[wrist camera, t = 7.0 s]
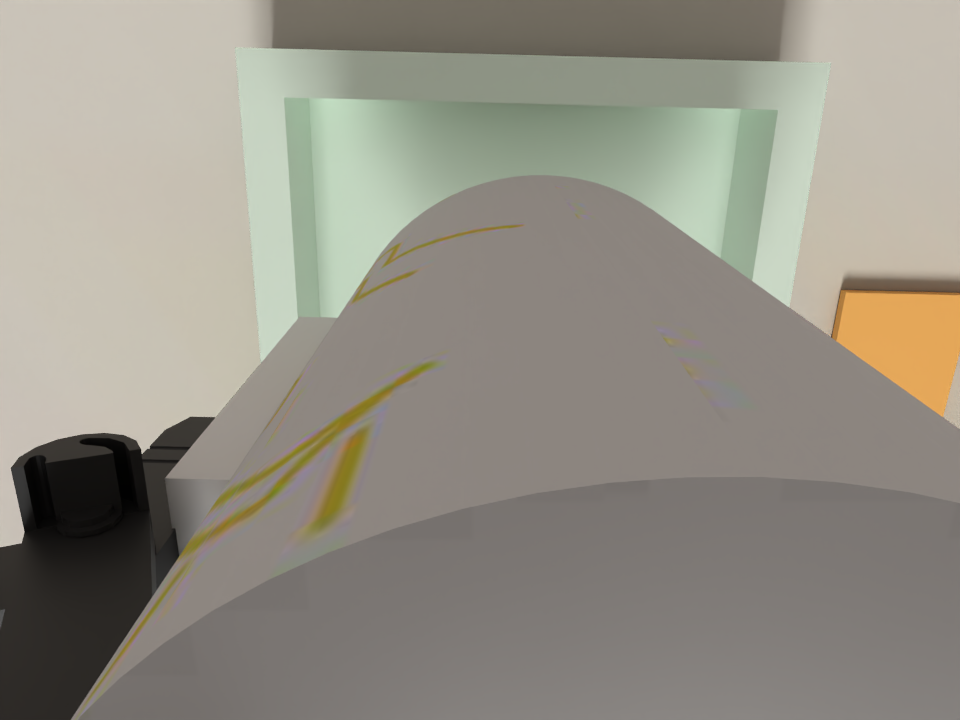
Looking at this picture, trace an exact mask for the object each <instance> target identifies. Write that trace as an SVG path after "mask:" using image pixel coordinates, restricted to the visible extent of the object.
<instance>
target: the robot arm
mask: <svg viewBox="0 0 960 720" xmlns="http://www.w3.org/2000/svg"><path fill="white" fill-rule="evenodd" d="M336 320H337V318H334V317H299V318H298V319H297V320H296V322H295V323H294V324H293V325H292V326H291V328H290V329H289V330H288V331H287V332H286V334H285V335H284V336H283V337H282V338H281V340H280V341H279V342H278V343H277V344H276V346H275V347H274V348H273V349H272V350H271V352H270V353H269V354H268V355H267V356H266V358H265V359H264V360H263V361H262V362H261V364H260V365H259V366H258V367H257V368H256V370H255V371H254V372H253V373H252V374H251V376H250V377H249V378H248V379H247V380H246V382H245V383H244V384H243V385H242V386H241V388H240V389H239V390H238V391H237V392H236V394H235V395H234V396H233V397H232V398H231V400H230V401H229V402H228V403H227V404H226V406H225V407H224V408H223V409H222V410H221V412H220V413H219V414H218V415H217V416H216V417H189V418H188V419H186V420H184V421H182V422H180V423H178V424H176V425H174V426H172V427H170V428H168V429H166V430H165V431H164V432H163V433H162V434H161V435H160V436H159V437H158V438H157V439H156V440H155V441H154V442H153V443H152V444H151V446H150V449H147V450H146V451H145V452H144V453H143V454H141V448H140V447H139V445H138V443H137V441H136V440H134V439H131V438H129V437H127V436H124V435H117V434H108V433H98V434H83V435H77V436H72V437H67V438H63V439H58V440H55V441H52V442H50V443H47V444H44V445H41V446H38V447H36V448H34V449H32V450H31V451H29V452H27V453H26V454H24V455H22V456H21V457H19V458H18V460H17V461H16V462H15V463H14V465H13V466H12V467H11V471H12V476H13V480H14V485H15V489H16V494H17V499H18V503H19V508H20V512H21V517H22V522H23V526H24V531H25V533H24V537H23V541H22V543H21V544H16V545H11V546H6V547H0V720H71V719H72V717H73V716H74V714H75V713H76V711H77V710H78V708H79V707H80V705H81V704H82V702H83V701H84V699H85V698H86V696H87V695H88V693H89V692H90V690H91V689H92V687H93V686H94V684H95V683H96V681H97V679H98V678H99V676H100V675H101V673H102V672H103V670H104V669H105V667H106V666H107V664H108V663H109V661H110V660H111V658H112V657H113V655H114V654H115V652H116V651H117V649H118V648H119V646H120V645H121V643H122V642H123V640H124V639H125V637H126V636H127V634H128V633H129V631H130V630H131V628H132V627H133V625H134V624H135V622H136V621H137V619H138V618H139V616H140V615H141V613H142V612H143V610H144V609H145V607H146V606H147V604H148V603H149V601H150V600H151V598H152V597H153V595H154V594H155V592H156V591H157V589H158V588H159V586H160V585H161V583H162V582H163V580H164V579H165V577H166V576H167V574H168V573H169V571H170V570H171V568H172V567H173V565H174V564H175V562H176V561H177V559H178V557H179V556H180V554H181V553H182V551H183V550H184V548H185V547H186V545H187V544H188V542H189V541H190V539H191V538H192V536H193V535H194V533H195V532H196V530H197V529H198V527H199V526H200V524H201V523H202V521H203V520H204V518H205V517H206V515H207V514H208V512H209V511H210V509H211V508H212V506H213V505H214V503H215V502H216V500H217V499H218V497H219V496H220V494H221V493H222V491H223V490H224V488H225V487H226V485H227V484H228V482H229V481H230V479H231V478H232V476H233V475H234V473H235V472H236V470H237V469H238V467H239V466H240V464H241V463H242V461H243V460H244V458H245V457H246V455H247V454H248V452H249V451H250V449H251V448H252V446H253V445H254V443H255V442H256V440H257V439H258V437H259V435H260V434H261V432H262V431H263V429H264V428H265V426H266V425H267V423H268V422H269V420H270V419H271V417H272V416H273V414H274V413H275V411H276V410H277V408H278V407H279V405H280V404H281V402H282V401H283V399H284V398H285V396H286V395H287V393H288V392H289V390H290V389H291V387H292V386H293V384H294V383H295V381H296V380H297V378H298V377H299V375H300V374H301V372H302V371H303V369H304V368H305V366H306V365H307V363H308V362H309V360H310V359H311V357H312V356H313V354H314V353H315V351H316V350H317V348H318V347H319V345H320V344H321V342H322V341H323V339H324V338H325V336H326V335H327V333H328V332H329V330H330V329H331V327H332V326H333V324H334V323H335V321H336Z"/></svg>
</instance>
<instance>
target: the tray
mask: <svg viewBox="0 0 960 720" xmlns="http://www.w3.org/2000/svg"><path fill="white" fill-rule="evenodd" d="M235 54H236V66H237V78H238V90H239V103H240V115H241V127H242V139H243V152H244V164H245V176H246V189H247V201H248V213H249V225H250V238H251V250H252V262H253V274H254V287H255V299H256V311H257V324H258V336H259V348H260V360H261V362H262V361H263V360H264V359H265V358H266V356H267V355H268V354H269V353H270V352H271V350H272V349H273V348H274V347H275V346H276V344H277V343H278V342H279V341H280V340H281V338H282V337H283V336H284V335H285V334H286V332H287V331H288V330H289V329H290V328H291V326H292V325H293V324H294V323H295V322H296V320H297V319H298V318H299V317H334V318H338V316H339V315H340V313H341V312H342V310H343V309H344V307H345V306H346V304H347V303H348V301H349V300H350V298H351V297H352V295H353V294H354V292H355V291H356V289H357V288H358V286H359V285H360V283H361V282H362V280H363V279H364V277H365V276H366V274H367V273H368V271H369V270H370V268H371V267H372V265H373V264H374V262H375V261H376V259H377V258H378V256H379V255H380V254H381V252H382V251H383V250H384V249H385V247H386V246H387V245H388V244H389V242H390V241H391V240H392V239H393V238H394V237H395V236H396V235H397V234H398V233H399V232H400V231H401V230H402V229H403V228H404V227H405V226H407V225H408V224H409V223H410V222H411V221H412V220H414V219H415V218H416V217H417V216H419V215H420V214H421V213H423V212H424V211H426V210H427V209H429V208H430V207H432V206H433V205H435V204H437V203H438V202H440V201H442V200H444V199H446V198H448V197H449V196H451V195H453V194H456V193H458V192H460V191H463V190H465V189H467V188H470V187H473V186H476V185H479V184H482V183H486V182H490V181H494V180H498V179H504V178H510V177H517V176H528V175H552V176H564V177H571V178H577V179H582V180H586V181H590V182H595V183H598V184H601V185H604V186H607V187H610V188H612V189H615V190H617V191H620V192H622V193H624V194H626V195H628V196H630V197H632V198H634V199H636V200H638V201H640V202H641V203H643V204H644V205H646V206H647V207H649V208H651V209H652V210H654V211H655V212H656V213H658V214H659V215H661V216H662V217H663V218H665V219H666V220H668V221H669V222H670V223H672V224H673V225H675V226H676V227H677V228H679V229H680V230H682V231H683V232H684V233H686V234H687V235H689V236H690V237H691V238H693V239H694V240H695V241H697V242H698V243H700V244H701V245H702V246H704V247H705V248H707V249H708V250H709V251H711V252H712V253H714V254H715V255H716V256H718V257H719V258H721V259H722V260H723V261H725V262H726V263H728V264H729V265H730V266H732V267H733V268H735V269H736V270H737V271H739V272H740V273H742V274H743V275H744V276H746V277H747V278H749V279H750V280H751V281H753V282H754V283H756V284H757V285H758V286H760V287H761V288H763V289H764V290H765V291H767V292H768V293H770V294H771V295H772V296H774V297H775V298H777V299H778V300H779V301H781V302H782V303H784V304H785V305H786V306H788V307H789V306H790V300H791V294H792V288H793V282H794V277H795V271H796V265H797V259H798V253H799V248H800V242H801V236H802V230H803V224H804V218H805V213H806V207H807V201H808V195H809V189H810V184H811V178H812V172H813V166H814V160H815V154H816V149H817V143H818V137H819V131H820V125H821V119H822V114H823V108H824V102H825V96H826V90H827V85H828V79H829V73H830V67H831V63H818V62H780V61H741V60H702V59H664V58H625V57H586V56H547V55H509V54H470V53H431V52H392V51H354V50H315V49H276V48H238V47H235Z"/></svg>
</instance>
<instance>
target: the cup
mask: <svg viewBox="0 0 960 720" xmlns="http://www.w3.org/2000/svg"><path fill="white" fill-rule="evenodd" d="M71 720H960V429H958V428H957V427H956V426H954V425H953V424H951V423H950V422H949V421H947V420H946V419H944V418H943V417H942V416H940V415H939V414H937V413H936V412H935V411H933V410H932V409H930V408H929V407H928V406H926V405H925V404H923V403H922V402H921V401H919V400H918V399H916V398H915V397H914V396H912V395H911V394H909V393H908V392H907V391H905V390H904V389H903V388H901V387H900V386H898V385H897V384H896V383H894V382H893V381H891V380H890V379H889V378H887V377H886V376H884V375H883V374H882V373H880V372H879V371H877V370H876V369H875V368H873V367H872V366H870V365H869V364H868V363H866V362H865V361H863V360H862V359H861V358H859V357H858V356H856V355H855V354H854V353H852V352H851V351H849V350H848V349H847V348H845V347H844V346H842V345H841V344H840V343H838V342H837V341H835V340H834V339H833V338H831V337H830V336H828V335H827V334H826V333H824V332H823V331H821V330H820V329H819V328H817V327H816V326H814V325H813V324H812V323H810V322H809V321H807V320H806V319H805V318H803V317H802V316H800V315H799V314H798V313H796V312H795V311H793V310H792V309H791V308H789V307H788V306H786V305H785V304H784V303H782V302H781V301H779V300H778V299H777V298H775V297H774V296H772V295H771V294H770V293H768V292H767V291H765V290H764V289H763V288H761V287H760V286H758V285H757V284H756V283H754V282H753V281H751V280H750V279H749V278H747V277H746V276H744V275H743V274H742V273H740V272H739V271H737V270H736V269H735V268H733V267H732V266H730V265H729V264H728V263H726V262H725V261H723V260H722V259H721V258H719V257H718V256H716V255H715V254H714V253H712V252H711V251H709V250H708V249H707V248H705V247H704V246H702V245H701V244H700V243H698V242H697V241H695V240H694V239H693V238H691V237H690V236H689V235H687V234H686V233H684V232H683V231H682V230H680V229H679V228H677V227H676V226H675V225H673V224H672V223H670V222H669V221H668V220H666V219H665V218H663V217H662V216H661V215H659V214H658V213H656V212H655V211H654V210H652V209H651V208H649V207H647V206H646V205H644V204H643V203H641V202H640V201H638V200H636V199H634V198H632V197H630V196H628V195H626V194H624V193H622V192H620V191H617V190H615V189H612V188H610V187H607V186H604V185H601V184H598V183H595V182H590V181H586V180H582V179H577V178H571V177H564V176H552V175H528V176H517V177H510V178H504V179H498V180H494V181H490V182H486V183H482V184H479V185H476V186H473V187H470V188H467V189H465V190H463V191H460V192H458V193H456V194H453V195H451V196H449V197H448V198H446V199H444V200H442V201H440V202H438V203H437V204H435V205H433V206H432V207H430V208H429V209H427V210H426V211H424V212H423V213H421V214H420V215H419V216H417V217H416V218H415V219H414V220H412V221H411V222H410V223H409V224H408V225H407V226H405V227H404V228H403V229H402V230H401V231H400V232H399V233H398V234H397V235H396V236H395V237H394V238H393V239H392V240H391V241H390V242H389V244H388V245H387V246H386V247H385V249H384V250H383V251H382V252H381V254H380V255H379V256H378V258H377V259H376V261H375V262H374V264H373V265H372V267H371V268H370V270H369V271H368V273H367V274H366V276H365V277H364V279H363V280H362V282H361V283H360V285H359V286H358V288H357V289H356V291H355V292H354V294H353V295H352V297H351V298H350V300H349V301H348V303H347V304H346V306H345V307H344V309H343V310H342V312H341V313H340V315H339V316H338V318H337V320H336V321H335V323H334V324H333V326H332V327H331V329H330V330H329V332H328V333H327V335H326V336H325V338H324V339H323V341H322V342H321V344H320V345H319V347H318V348H317V350H316V351H315V353H314V354H313V356H312V357H311V359H310V360H309V362H308V363H307V365H306V366H305V368H304V369H303V371H302V372H301V374H300V375H299V377H298V378H297V380H296V381H295V383H294V384H293V386H292V387H291V389H290V390H289V392H288V393H287V395H286V396H285V398H284V399H283V401H282V402H281V404H280V405H279V407H278V408H277V410H276V411H275V413H274V414H273V416H272V417H271V419H270V420H269V422H268V423H267V425H266V426H265V428H264V429H263V431H262V432H261V434H260V435H259V437H258V439H257V440H256V442H255V443H254V445H253V446H252V448H251V449H250V451H249V452H248V454H247V455H246V457H245V458H244V460H243V461H242V463H241V464H240V466H239V467H238V469H237V470H236V472H235V473H234V475H233V476H232V478H231V479H230V481H229V482H228V484H227V485H226V487H225V488H224V490H223V491H222V493H221V494H220V496H219V497H218V499H217V500H216V502H215V503H214V505H213V506H212V508H211V509H210V511H209V512H208V514H207V515H206V517H205V518H204V520H203V521H202V523H201V524H200V526H199V527H198V529H197V530H196V532H195V533H194V535H193V536H192V538H191V539H190V541H189V542H188V544H187V545H186V547H185V548H184V550H183V551H182V553H181V554H180V556H179V557H178V559H177V561H176V562H175V564H174V565H173V567H172V568H171V570H170V571H169V573H168V574H167V576H166V577H165V579H164V580H163V582H162V583H161V585H160V586H159V588H158V589H157V591H156V592H155V594H154V595H153V597H152V598H151V600H150V601H149V603H148V604H147V606H146V607H145V609H144V610H143V612H142V613H141V615H140V616H139V618H138V619H137V621H136V622H135V624H134V625H133V627H132V628H131V630H130V631H129V633H128V634H127V636H126V637H125V639H124V640H123V642H122V643H121V645H120V646H119V648H118V649H117V651H116V652H115V654H114V655H113V657H112V658H111V660H110V661H109V663H108V664H107V666H106V667H105V669H104V670H103V672H102V673H101V675H100V676H99V678H98V679H97V681H96V683H95V684H94V686H93V687H92V689H91V690H90V692H89V693H88V695H87V696H86V698H85V699H84V701H83V702H82V704H81V705H80V707H79V708H78V710H77V711H76V713H75V714H74V716H73V717H72V719H71Z"/></svg>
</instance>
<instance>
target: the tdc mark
mask: <svg viewBox="0 0 960 720" xmlns="http://www.w3.org/2000/svg"><path fill="white" fill-rule="evenodd" d="M832 338H833V339H834V340H835V341H837V342H838V343H840V344H841V345H842V346H844V347H845V348H847V349H848V350H849V351H851V352H852V353H854V354H855V355H856V356H858V357H859V358H861V359H862V360H863V361H865V362H866V363H868V364H869V365H870V366H872V367H873V368H875V369H876V370H877V371H879V372H880V373H882V374H883V375H884V376H886V377H887V378H889V379H890V380H891V381H893V382H894V383H896V384H897V385H898V386H900V387H901V388H903V389H904V390H905V391H907V392H908V393H909V394H911V395H912V396H914V397H915V398H916V399H918V400H919V401H921V402H922V403H923V404H925V405H926V406H928V407H929V408H930V409H932V410H933V411H935V412H936V413H937V414H939V415H940V416H942V417H943V414H944V411H945V407H946V403H947V399H948V395H949V391H950V387H951V383H952V380H953V376H954V372H955V368H956V364H957V360H958V356H959V352H960V293H949V292H907V291H865V290H841V293H840V298H839V303H838V308H837V314H836V319H835V324H834V329H833V334H832Z"/></svg>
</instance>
